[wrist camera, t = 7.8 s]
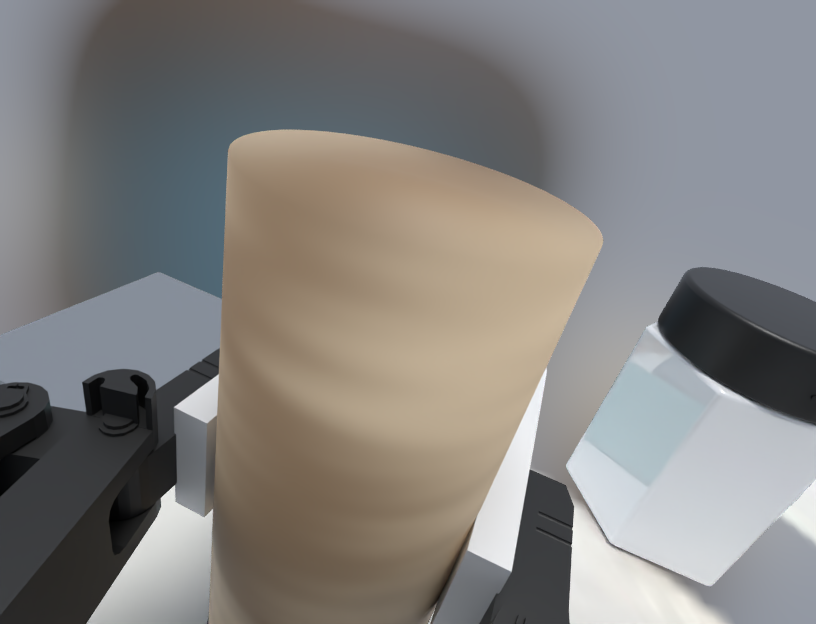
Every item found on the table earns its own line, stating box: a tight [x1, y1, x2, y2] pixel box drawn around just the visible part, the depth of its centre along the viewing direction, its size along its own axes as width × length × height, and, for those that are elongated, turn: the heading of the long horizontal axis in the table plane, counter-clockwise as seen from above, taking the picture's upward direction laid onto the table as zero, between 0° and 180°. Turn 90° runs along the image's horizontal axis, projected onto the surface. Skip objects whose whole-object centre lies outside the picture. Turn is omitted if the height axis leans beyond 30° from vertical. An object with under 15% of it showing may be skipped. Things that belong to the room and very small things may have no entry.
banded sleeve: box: [207, 130, 603, 624], centre depth 10 cm, size 5×5×14 cm
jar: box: [566, 267, 816, 586], centre depth 22 cm, size 9×8×12 cm
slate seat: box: [0, 272, 222, 412], centre depth 26 cm, size 12×12×1 cm
